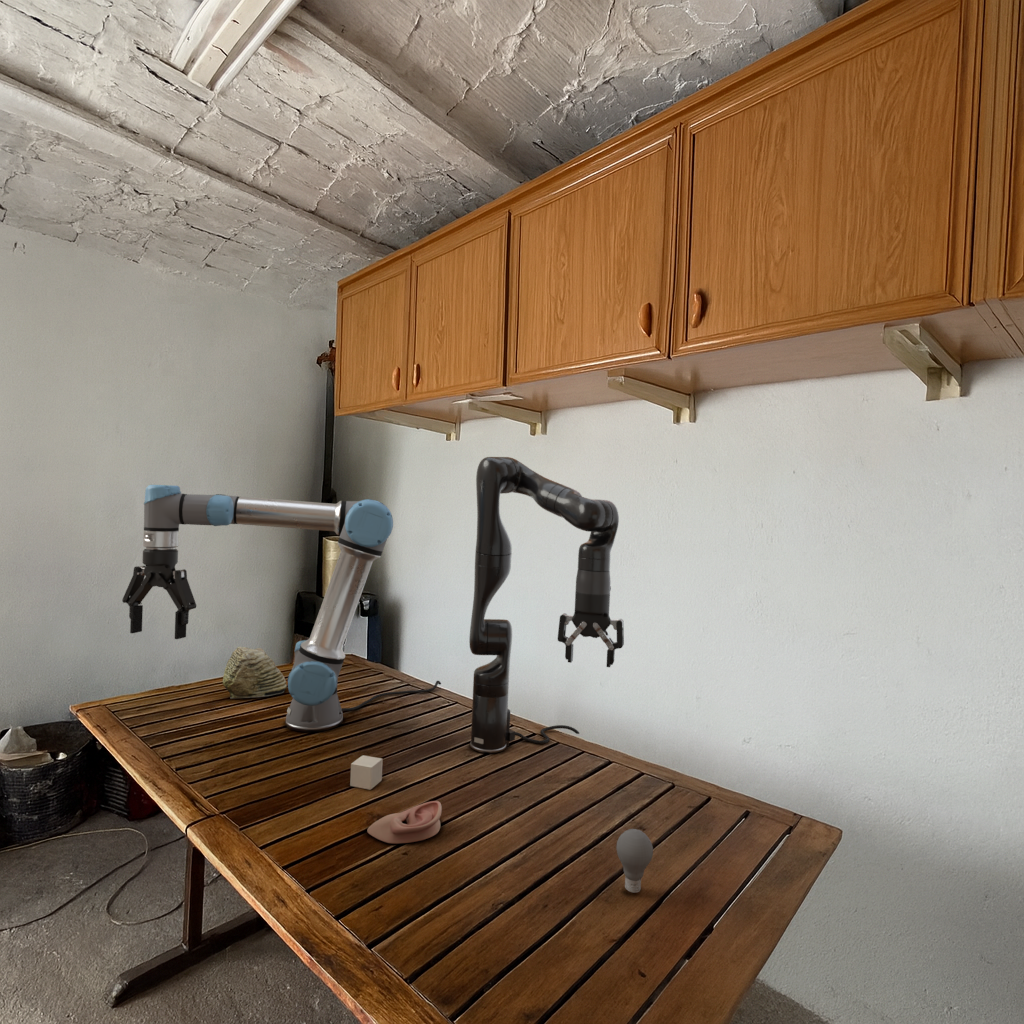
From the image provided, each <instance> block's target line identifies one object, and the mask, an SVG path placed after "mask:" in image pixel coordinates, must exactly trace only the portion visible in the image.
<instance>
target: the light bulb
mask: <svg viewBox="0 0 1024 1024" xmlns="http://www.w3.org/2000/svg"><path fill="white" fill-rule="evenodd" d="M615 849H616V854H617V857H618V859H619V861H620V863H621V865H622V867H623V873H624V874H623V875H624V876H625V878H624V888H625V890H627V891H628V892H630V893H634V894H635V893H639V892H640V891H641V889H642V887H641V886H642V879H643V877H644V875H645V871H646V868H647V867H648V866H649V864H650V863H651V861H652V859H653V855H654V847H653V843H652V841H651V838H649V836H648V835H647V834H646V833H645V832H643V831H642V830H641V829H636V828H629V829H627V830H625V831H623V832H622V833H621V834H620V835H619V837H618V839H617V841H616V847H615Z"/></svg>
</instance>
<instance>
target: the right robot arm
mask: <svg viewBox="0 0 1024 1024" xmlns="http://www.w3.org/2000/svg"><path fill="white" fill-rule="evenodd" d="M475 485H476V487H475V489H476V511H477V512H476V513H477V516H476V517H477V519H476V520H477V521H476V543H475V552H474V553H475V554H474V587H473V588H474V589H473V590H474V591H473V601H472V609H471V610H472V611H471V618H470V627H469V641H468V642H469V649H470V652H471V654H472V655H474V656H495V658H494V659H492V660H491V661H490V662H487V663H485V664H483V665H480V666H477V668H475V669H474V671H473V682H472V705H471V707H472V708H471V726H470V727H471V729H470V731H471V732H470V743H469V746H470V748H471V749H472V750H473V751H476V752H479V753H483V754H496V753H501V752H503V751H505V750H506V749H507V747H510V742H513V741H515V740H516V736H517V737H519V738H520V739H522V740H523V741H524V742H525V741H526V742H528V743H531V744H536V745H544V744H548V743H549V742H550V737H549V736H548V735H547V734H546V733H545V732H547V731H551V730H556V729H557V730H558V729H565V730H570V731H572V732H573V733H575V734H576V735H580V732H579V730H577V729H576V728H574V727H572V726H570V725H562V724H560V725H559V724H558V725H551V726H546V727H544V728H542V729H541V730H540V731H539V733H540V734H541V736H542V737H543V738H544V739H543V740H542V739H540V740H537V739H534V738H533V739H532V738H530V737H526V736H525V735H524V734H522V733H520V732H516V731H515V730H513V729H511V710H510V709H509V687H510V669H511V668H510V665H511V654H512V646H513V645H512V643H513V626H512V624H511V622H510V621H509V619H500V618H497V619H496V618H485V616H486V613H487V610H488V608H489V605H490V603H491V601H492V600H493V598H494V597H495V595H496V594H497V592H498V591H499V590H500V589H501V588H502V586H503V585H504V583H505V582H506V580H507V578H508V577H509V575H510V573H511V568H512V554H513V553H512V552H513V547H512V541H511V539H510V536H509V534H508V530H507V529H506V527H505V525H504V523H503V521H502V518H501V512H500V502H501V501H500V499H501V494H510V493H515V494H519V495H525V496H528V497H530V498H531V499H532V500H534V502H535V503H536V504H537V506H539V507H540V508H541V509H543V510H544V511H546V512H549V513H551V514H553V515H555V516H557V517H560V518H562V519H564V520H565V521H566V522H568V523H569V524H570V525H571V526H573V527H574V528H576V529H578V530H580V531H584V532H589V533H590V534H589V537H588V540H587V541H585V542H583V543H581V544H580V545H579V547H578V554H577V573H576V577H575V592H574V595H575V596H574V598H575V599H574V613H573V615H569V614H567V613H565V612H564V613H562V614H561V615H560V616H559V619H558V620H559V622H558V632H557V642H559V643H563V644H564V645H565V652H564V658H565V660H567V663H569V664H571V663H572V662H573V660H574V643H573V642H574V641H575V640H576V639H577V638H578V637H579V635H580V636H582V637H583V638H588V637H589V638H590V637H591V638H593V639H598V638H600V639H601V640H602V642H603V643H604V644H605V646H606V648H607V650H606V668H611V667H612V666H613V665H614V663H615V656H616V655H615V651H616V650H618V649H622V648H623V646H624V645H625V633H624V632H625V630H624V629H625V626H624V624H625V623H624V619H622V618H619V619H611V617H610V604H611V603H610V602H611V591H612V586H611V584H612V583H611V581H612V580H611V558H612V557H611V555H612V554H611V553H612V549H613V546H614V543H615V540H616V536H617V532H618V528H619V524H620V515H619V511H618V508H617V506H616V504H615V503H614V502H612V501H611V500H608V499H595V498H588V497H584V496H583V495H582V494H581V492H580V491H578V490H576V489H574V488H572V487H569V486H567V485H564V484H562V483H559V482H557V481H554V480H552V479H550V478H548V477H545V476H543V475H541V474H539V473H537V472H536V471H534V470H532V469H531V468H529V467H528V466H527V465H525V464H524V463H523V462H521V461H519V460H517V459H515V458H513V457H509V456H486V457H484V458H482V459H481V460H480V461H479V463H478V466H477V469H476V476H475ZM570 622H572V623H573V625H574V627H575V630H574V631H573V632H572V633H571V634H570V636H569V637H568V636H566V635H567V634H566V633H567V625H569V624H570ZM610 626H612V627H613V629H614V630H615V631H616V641H614V640H613V639H612V637H611V634H610V633H609V631H608V628H609V627H610Z"/></svg>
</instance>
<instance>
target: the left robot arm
mask: <svg viewBox="0 0 1024 1024" xmlns="http://www.w3.org/2000/svg"><path fill="white" fill-rule="evenodd" d="M144 493H145V494H144V502H143V537H142V538H143V539H142V540H143V541H142V542H143V543H142V545H143V547H144V549H143V550H142V564H143V565H138V566H134V567H133V573H132V577H131V579H130V581H129V584H128V586H127V588H126V590H125V592H124V595H123V597H122V603H123V604H124V603H125V604H127V605H128V607H129V609H128V611H129V613H128V614H129V615H128V618H129V619H130V625H129V626H130V627H129V634H136V633H141V632H143V614H144V613H143V611H144V610H143V609H144V606H143V605H142V604H143V601H144V599H145V598H146V596H148V594H149V592H151V590H152V589H153V588H154V587H157V588H162V589H164V590H165V591H166V592H167V594H168V596H169V597H170V599H171V600H172V602H173V604H174V605H175V607H176V609H177V610H176V611H175V613H174V614H175V615H174V618H175V619H174V640H181V639H185V638H187V625H188V624H189V617H190V616H189V615H190V614H189V613H190V611H192V610H194V609H196V608H197V603H196V601H195V598H194V594H193V592H192V589H191V586H190V583H189V580H188V575H187V570H186V569H185V568H184V569H183V568H182V569H177V570H176V565H177V564H178V563H179V550H178V549H177V548H178V547H179V536H180V535H179V533H180V532H179V530H180V525H190V526H191V525H192V526H193V525H195V526H213V527H221V526H229V525H243V526H257V527H259V526H260V527H270V528H272V527H273V528H285V529H286V528H287V529H297V530H298V529H299V530H312V531H325V532H326V531H327V532H334V533H335V534H336V535H337V536H339V537H338V540H337V545H338V547H339V550H340V552H339V555H338V558H337V561H336V563H335V566H334V569H333V572H332V575H331V578H330V580H329V583H328V585H327V589H326V591H325V594H324V597H323V599H322V603H321V605H320V608H319V611H318V614H317V616H316V619H315V621H314V625H313V627H312V630H311V633H310V636H309V638H308V639H303V640H299V641H297V642H296V643H295V648H294V663H293V665H292V668H291V671H290V672H289V674H288V677H287V689H288V693H289V694H290V696H291V697H292V699H291V702H290V704H289V706H288V707H287V710H286V712H287V713H286V715H285V726H286V728H287V729H289V730H291V731H294V732H295V731H296V732H301V733H316V732H325V731H329V730H332V729H335V728H337V727H339V726H340V725H342V723H343V722H344V714H343V712H352V711H355V710H358V709H360V708H362V707H364V706H365V705H367V704H369V703H371V702H372V701H374V700H376V699H377V698H381V697H384V696H392V695H405V694H422V693H429V692H432V691H434V690H435V689H437V688H438V685H442V682H441V681H440V680H436V681H435V684H434V685H433V687H431V688H427V689H414V690H413V689H411V690H410V689H409V690H400V691H399V690H398V691H389V692H382V693H379V694H376V695H374V696H372V697H370V698H369V699H367V700H365V701H363V702H362V703H360V704H358V705H355V706H353V707H343V708H342V706H341V702H340V699H339V695H338V682H339V681H338V680H339V676H340V673H341V670H342V667H343V664H344V661H345V658H346V654H345V652H344V650H343V647H344V644H345V642H346V638H347V636H348V632H349V630H350V627H351V624H352V621H353V619H354V615H355V613H356V610H357V607H358V605H359V601H360V598H361V597H362V593H363V591H364V588H365V585H366V582H367V579H368V576H369V574H370V571H371V568H372V565H373V562H374V561H376V560H377V559H380V558H381V557H382V555H383V552H384V548H385V546H386V543H387V540H388V539H389V537H390V536H391V534H392V532H393V528H394V518H393V515H392V512H391V511H390V509H389V508H388V506H387V505H385V504H384V503H383V502H381V501H378V500H375V499H371V498H367V499H362V500H339V501H337V503H330V502H329V503H328V502H316V501H303V500H292V499H291V500H290V499H277V498H265V497H254V496H252V497H251V496H238V495H237V496H236V495H228V494H227V495H226V494H220V493H217V494H192V493H191V494H188V493H182V491H181V487H180V486H178V485H171V484H169V485H167V484H149V485H147V486H146V487H145V492H144Z"/></svg>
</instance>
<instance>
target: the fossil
mask: <svg viewBox="0 0 1024 1024" xmlns="http://www.w3.org/2000/svg"><path fill="white" fill-rule="evenodd" d="M222 676H223V677H222V685H223V687H224V688H225V690H226V691H228V693H229V698H230V699H250V698H264V697H271V696H275V695H281V694H284V693H285V691H286V689H287V688H288V684H287V680H286V678H285V676H284V674H283V673H282V672H281V669H279V668H278V667H277V665H276V663H275V662H274V660H273V659H272V658H271V657H270V656H269V655H268V654H267V653H266V652H265V650H264V649H263V648H260V647H258V648H251V647H247V646H246V647H245V646H238V647H237V648H236V649H235V650H233V651H232V653H231V656H230V657H229V659H228V660H227V663H226V666H225V668H224V671H223V675H222Z"/></svg>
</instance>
